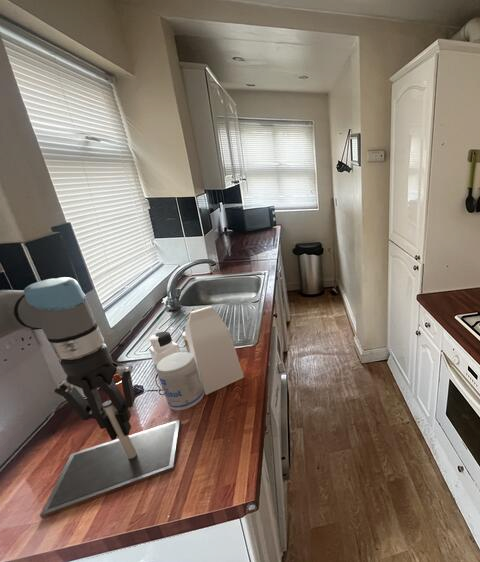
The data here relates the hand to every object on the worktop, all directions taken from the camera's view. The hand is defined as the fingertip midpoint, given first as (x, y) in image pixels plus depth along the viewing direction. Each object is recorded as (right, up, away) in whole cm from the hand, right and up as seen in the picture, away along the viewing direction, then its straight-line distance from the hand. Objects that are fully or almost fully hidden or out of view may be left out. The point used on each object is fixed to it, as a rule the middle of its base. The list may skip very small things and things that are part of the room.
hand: (121, 433), depth 73 cm
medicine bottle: (-15, +6, +40) cm, 43 cm away
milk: (+8, +3, +31) cm, 32 cm away
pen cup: (-19, 0, +24) cm, 31 cm away
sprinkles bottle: (-4, +6, +39) cm, 39 cm away
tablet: (-2, -9, +2) cm, 9 cm away
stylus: (0, -7, +3) cm, 8 cm away
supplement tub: (+2, -1, +22) cm, 22 cm away
